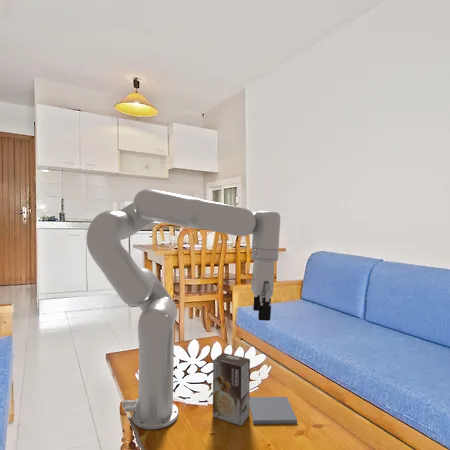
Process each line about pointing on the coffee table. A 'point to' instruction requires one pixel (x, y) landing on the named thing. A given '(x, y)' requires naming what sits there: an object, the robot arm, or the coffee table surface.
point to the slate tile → (271, 410)
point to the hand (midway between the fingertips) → (261, 315)
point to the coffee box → (231, 388)
